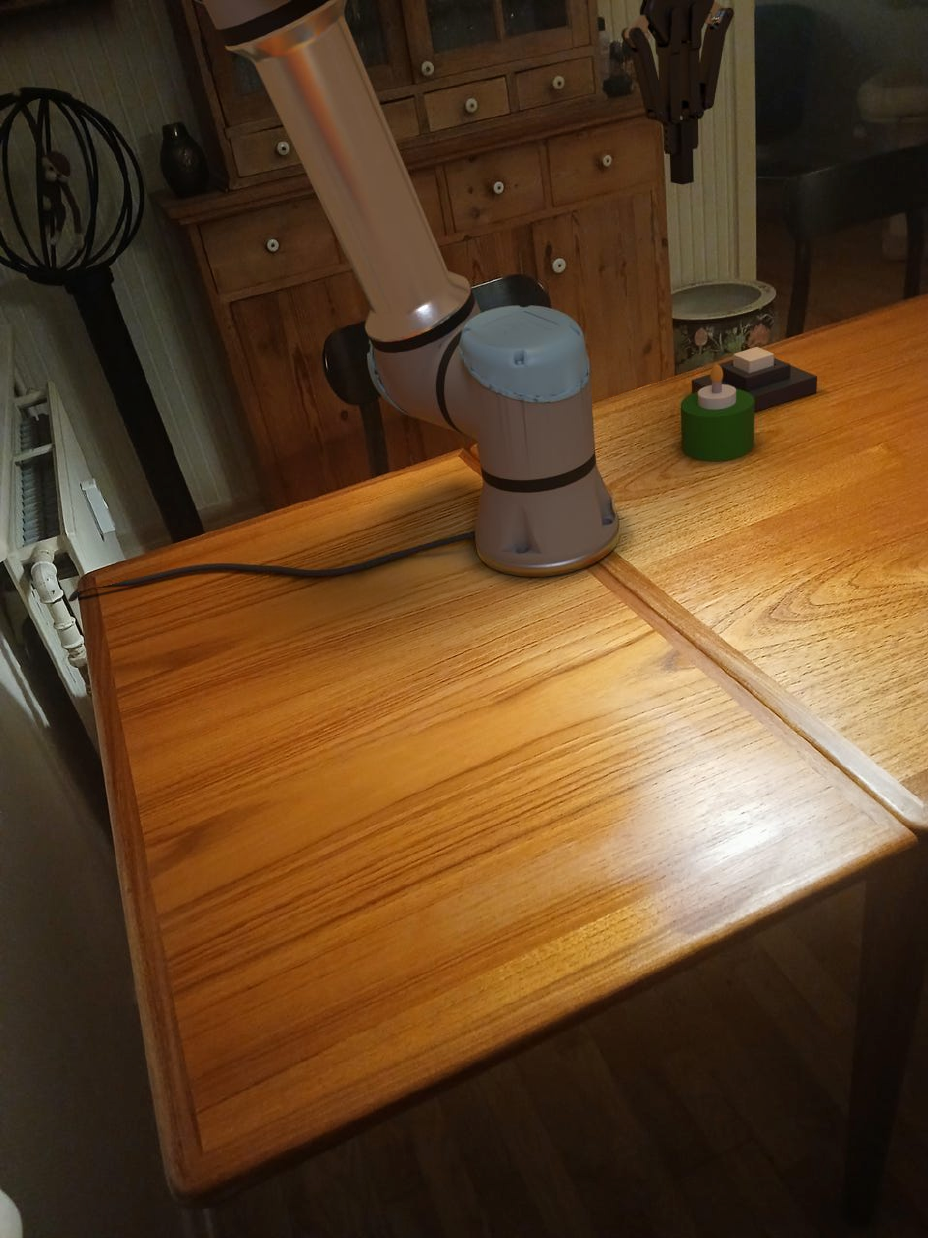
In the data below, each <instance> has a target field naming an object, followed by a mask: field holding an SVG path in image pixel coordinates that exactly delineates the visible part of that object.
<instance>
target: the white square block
mask: <svg viewBox="0 0 928 1238" xmlns="http://www.w3.org/2000/svg"><path fill="white" fill-rule="evenodd" d="M774 358H775V354H774V353H773V352H770V351H768V350H765V349H763V348H760V347H758V346H755V347H752V348H749V349H746V350H742V351H739V352H736V353H733V354H732V360H733V366H734V367H736V368H738V369H741V370H743V371H745V372H747V373H752V372H755V371H758V370H761V369H764V368H768V367H771V366H774Z"/></svg>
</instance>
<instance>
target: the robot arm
mask: <svg viewBox="0 0 928 1238" xmlns="http://www.w3.org/2000/svg"><path fill="white" fill-rule="evenodd" d="M193 1H194V2H196V3H199V4H201V5H204V7H205V9H206V11H207V13H208V15H209V17H210V19H211V21H212V23H213V25H214V28H215V29H216V31H217V34H218V35H219V37H220V39H221V41H222V43H223V45H224V47H225V49H226V50H227V51H229V52H231V53H234V54H236V55H238V56H241V57H243V58H245V59H248V60H249V61H250V62H251V63H252V64H253V65H254V67H255V69H256V72H257V74H258V76H259V78H260V80H261V82H262V84H263V86H264V88H265V91H266V93H267V95H268V97H269V99H270V101H271V103H272V105H273V107H274V109H275V111H276V113H277V115H278V118H279V119H280V122H281V124H282V125H283V128H284V130H285V131H286V134H287V136H288V138H289V141H290V143H291V144H292V147H293V149H294V150H295V153H296V155H297V157H298V158H299V161H300V163H301V165H302V167H303V169H304V171H305V173H306V175H307V178H308V180H309V182H310V184H311V186H312V188H313V190H314V192H315V195H316V197H317V198H318V201H319V203H320V205H321V207H322V209H323V211H324V214H325V215H326V217H327V220H328V221H329V223H330V225H331V228H332V230H333V232H334V234H335V236H336V239H337V240H338V242H339V244H340V246H341V248H342V251H343V253H344V255H345V257H346V259H347V261H348V263H349V265H350V267H351V269H352V271H353V273H354V275H355V278H356V280H357V282H358V284H359V286H360V288H361V289H362V293H363V294H364V296H365V299H366V300H367V302H368V305H369V306H370V307H369V308H370V309H369V312H368V314H367V317H366V318H365V319H366V320H365V321H364V330H365V333H366V335H367V337H368V339H369V340H368V345H370V347H369V348H370V349H369V352H367V354H366V358H367V359H366V360H367V367H368V372H369V376H370V379H371V382H372V384H373V386H374V387H375V390H377V392H378V394H379V395H380V396H381V398H383V399H384V400H385V401H386V402H387V403H388V404H389V405H390V406H392V407H394V408H395V409H396V410H398V411H400V412H401V413H403V414H405V415H407V416H409V417H410V418H413V419H415V420H421V421H425V422H427V423H429V424H433V425H436V426H439V427H441V428H445V429H447V430H450V431H453V432H456V433H459V434H461V435H464V436H467V437H470V438H473V439H474V440H475V442H476V447H477V453H478V459H479V464H480V465H479V466H480V470H481V471H480V472H481V479H482V486H481V492H480V497H479V503H478V508H477V514H476V520H475V525H474V530H472V531H468V532H463V533H459V534H456V535H452V536H448V537H444V538H440V539H436V540H433V541H430V542H427V543H423V544H420V545H416V546H413V547H408V548H406V549H401V550H398V551H395V552H391V553H389V554H385V555H382V556H379V557H376V558H372V559H370V560H366V561H363V562H360V563H356V564H353V565H347V566H343V567H335V568H328V569H303V568H295V567H287V566H280V565H265V564H263V565H262V564H249V563H248V564H247V563H231V562H229V563H228V562H218V563H217V562H216V563H204V564H203V563H202V564H195V565H187V566H182V567H177V568H172V569H167V570H164V571H160V572H156V573H153V574H147V575H143V576H139V577H133V578H129V579H123V580H124V581H122V582H119V583H115V584H112V585H108V586H103V587H98V588H97V589H103V588H104V589H105V588H121V587H122V588H124V587H131V586H137V585H141V584H146V583H150V582H155V581H157V580H162V579H165V578H166V579H167V578H170V577H175V576H179V575H185V574H190V573H197V572H206V571H243V572H253V573H254V572H256V573H257V572H258V573H273V574H282V575H283V574H284V575H290V576H296V577H297V576H298V577H307V578H322V577H324V578H325V577H334V576H341V575H346V574H352V573H356V572H359V571H363V570H367V569H370V568H372V567H376V566H379V565H382V564H385V563H388V562H391V561H394V560H398V559H402V558H405V557H408V556H412V555H416V554H419V553H423V552H426V551H430V550H433V549H437V548H440V547H444V546H448V545H451V544H455V543H460V542H463V541H468V540H471V539H474V543H475V547H476V548H475V549H476V553H477V555H478V557H479V558H480V560H481V561H482V562H483V563H484V564H485V565H487V566H488V567H489V568H491V569H493V570H495V571H498V572H500V573H503V574H507V575H511V576H517V577H526V578H527V577H528V578H537V577H538V578H539V577H540V578H542V577H553V576H558V575H564V574H568V573H572V572H575V571H579V570H582V569H584V568H587V567H588V566H591V565H594V564H595V563H597V562H599V561H601V560H602V559H603V558H605V557H606V556H607V555H609V554H610V553H611V552H612V551H613V550H614V549H615V548H616V546H617V544H618V542H619V540H620V537H621V528H620V527H621V524H620V517H619V513H618V510H617V507H616V502H615V498H614V495H613V493H612V490H610V491H609V490H608V488H607V485H606V483H605V481H604V479H603V477H602V474H601V472H600V470H599V468H598V464H597V454H596V442H595V427H594V412H593V398H592V385H591V384H592V382H591V362H590V358H589V355H588V354H587V353H588V352H587V347H586V339H585V335H584V332H583V330H582V328H581V327H580V325H579V323H577V321H575V319H573V318H572V317H571V316H569V315H568V314H566V313H565V312H562V311H560V310H557V309H554V308H550V307H546V306H542V305H541V306H540V305H531V304H530V305H528V306H525V307H523V306H520V305H505V306H499V307H496V308H492V309H489V310H485V311H483V312H482V311H481V309H480V306H479V304H478V302H477V299H476V297H475V294H474V292H473V289H472V287H471V284H470V281H469V280H468V279H467V277H465V276H463V275H461V274H458V273H456V272H453V271H450V270H448V267H447V265H446V262H445V261H444V258H443V256H442V253H441V250H440V248H439V245H438V242H437V241H436V238H435V236H434V233H433V231H432V229H431V226H430V224H429V221H428V219H427V215H426V214H425V211H424V209H423V207H422V204H421V202H420V199H419V196H418V195H417V192H416V190H415V187H414V185H413V182H412V179H411V177H410V175H409V172H408V170H407V168H406V165H405V162H404V160H403V158H402V155H401V153H400V150H399V148H398V145H397V142H396V141H395V138H394V135H393V133H392V130H391V128H390V126H389V124H388V121H387V119H386V116H385V113H384V111H383V108H382V106H381V103H380V101H379V98H378V96H377V94H376V91H375V89H374V86H373V84H372V82H371V79H370V77H369V74H368V72H367V70H366V67H365V65H364V62H363V60H362V57H361V55H360V53H359V49H358V48H357V45H356V43H355V41H354V38H353V36H352V33H351V30H350V27H349V25H348V23H347V21H346V17H345V16H346V15H345V9H346V5H347V2H348V0H193ZM734 15H735V11H734V9H733V8H732V7H731V6H729V7H724V6H722V5H721V4H720V3H718V2H717V1H715V0H641V4H640V7H639V16H638V18H637V19H636V20H635V21H634V22H633V23H632V24H631V25H630V27H625V28H623V29H622V30H621V33H620V35H621V39H622V41H623V42H624V44H625V45H626V47H627V48H628V50H629V52H630V56H631V59H632V63H633V68H634V71H635V76H636V80H637V84H638V88H639V91H640V96H641V100H642V104H643V107H644V111H645V116H646V118H647V119H648V120H652V121H656V122H659V123H661V125H662V139H663V142H662V143H663V150H664V151H663V152H664V154H665V155H669V173H670V175H669V176H670V177H669V178H670V183H672V184H678V185H681V186H683V185H687V184H688V185H689V184H691V183H692V184H693V183H694V182H695V175H694V174H695V171H694V170H695V168H694V167H695V166H694V150H696V149H698V147H699V143H700V142H699V141H700V140H699V120H701V119H702V118H703V117H704V115H705V111H707V110H711V109H712V108H713V107H714V105H715V101H716V94H717V88H718V81H719V77H720V69H721V65H722V64H721V63H722V58H723V52H724V46H725V42H726V35H727V31H728V29H729V27H730V24H731V23H732V20H733V18H734ZM705 24H706V26H705ZM704 26H705V27H706V28H705V30H704V33H703V32H702V30H703V29H704ZM702 33H703V37H702ZM650 34H651V36H652V37H653V39H654V47H655V48H654V49H655V54H656V55H657V59H658V60H657V65H656V62H655V58H654V53H653V50H652V47H651V44H650V42H649V38H650V37H651V36H650ZM702 38H703V39H702ZM700 50H701V51H700ZM700 52H701V53H700ZM656 66H658V71H657V67H656ZM94 589H96V588H92V589H88V590H84V591H80V592H78V588H76V589H75V590H74V591H73V592H72V593H71V594H70V595H69V598H68V600H67V602H69V603H71V602H75V601H76V600H77V599H78V598H79V596H81V595H82V594H83V593H86V592H88V591H91V590H94Z"/></svg>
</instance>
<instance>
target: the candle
mask: <svg viewBox="0 0 928 1238" xmlns="http://www.w3.org/2000/svg"><path fill="white" fill-rule="evenodd" d="M718 364H719V363H716V364H714V365H713V366H712V367H711V370H710V373H709V374H710V378H711V381H712V385H710V386H706V387H703V388H701V389H700V390H699V391H698V392H696V393H693V394H692V393H691V394H689V395H687V396H685V397H684V398H683V399H682V400H681V401H680V431H681V432H680V433H681V434H680V435H681V451H682V452H683V454H684V455H686V456H687V457H688V458H690V459H694V460H698V461H703V462H724V461H731V460H734V459H738V458H740V457H744V456H745V455H747V454H748V453H749V452H751V451H752V450H753V448H754V445H755V412H754V397H753V396H752V395H751V394H750V393H748V392H746V391H743V390H739V389H735V388H734V387H733V386H730V385H725V384H722V379H723V370H722V368H721V366H720V365H718Z"/></svg>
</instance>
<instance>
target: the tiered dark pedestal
mask: <svg viewBox="0 0 928 1238" xmlns="http://www.w3.org/2000/svg"><path fill="white" fill-rule="evenodd" d="M717 364H718V365H720V366H721V368H722V370H723V379H722V384H725V385H730V386H733V387H734V388H735V389H739V390H743V391H746V392H748V393H750V394H751V395H752V396H753V397H754V413H757V412H761V411H763V410H766V409H769V408H772V407H773V408H774V407H776V406H778V405H782V404H785V403H788V402H791V401H794V400H797V399H798V400H799V399H800V398H804V397H807V396H810V395H812V394H813V395H814V394H816V393H817V392H818V391H817V390H818V389H817V388H818V375H815V374H813V373H811V372H808V371H805V370H804V369H801V368H799V367H796V366H794V365H791V364H790V363H788V362H785V361H783V360H781V359H778V358H776V357H774V366H771V367H768V368H764V369H761V370H758V371H755V372H752V373H747V372H745V371H743V370H741V369H738V368H736V367H734V366H733V359H730V360H727V361H725V362H721V363H717ZM710 385H712V381H711V378H710V373H709V374H706V375H703V376H700V377H697V378H694V379H691V394H693V393H696V392H698V391H699V390H700V389H701V388H703V387H706V386H710Z"/></svg>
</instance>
